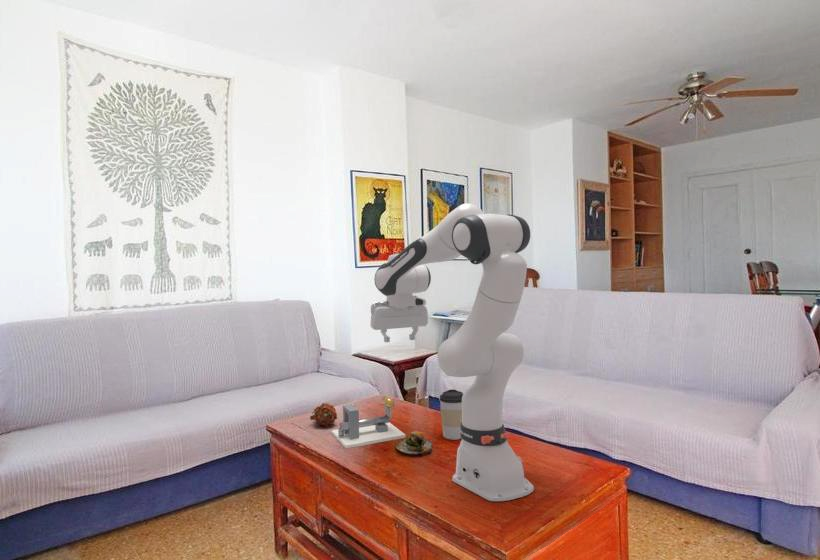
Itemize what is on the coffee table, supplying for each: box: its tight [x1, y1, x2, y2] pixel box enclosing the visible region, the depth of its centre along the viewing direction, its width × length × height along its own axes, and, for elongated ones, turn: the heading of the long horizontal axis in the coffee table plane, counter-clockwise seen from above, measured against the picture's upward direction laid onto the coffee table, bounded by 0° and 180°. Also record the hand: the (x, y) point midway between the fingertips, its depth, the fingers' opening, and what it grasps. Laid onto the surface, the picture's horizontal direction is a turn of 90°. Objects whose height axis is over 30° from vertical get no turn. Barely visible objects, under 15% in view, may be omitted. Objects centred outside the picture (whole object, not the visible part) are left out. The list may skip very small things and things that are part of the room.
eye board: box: [331, 403, 407, 450], centre depth 168 cm, size 21×16×10 cm
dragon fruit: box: [309, 402, 338, 427], centre depth 180 cm, size 8×8×12 cm
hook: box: [337, 395, 395, 436], centre depth 167 cm, size 19×6×10 cm, turn 115°
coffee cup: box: [438, 389, 464, 440], centre depth 166 cm, size 9×9×15 cm
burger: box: [394, 425, 434, 457], centre depth 154 cm, size 12×12×8 cm
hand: (399, 340), depth 168 cm, fingers open, 8 cm apart
